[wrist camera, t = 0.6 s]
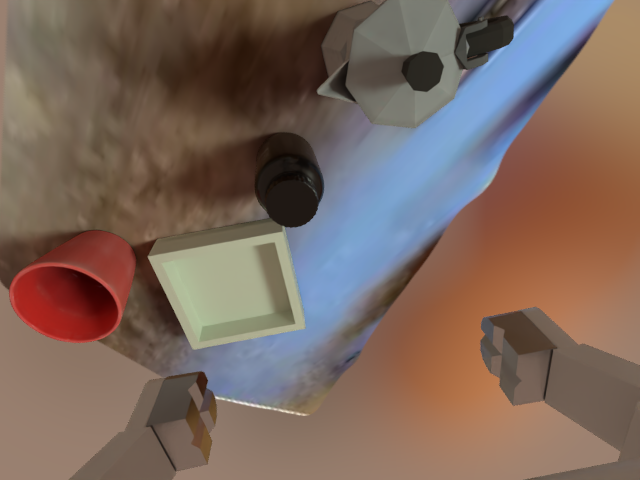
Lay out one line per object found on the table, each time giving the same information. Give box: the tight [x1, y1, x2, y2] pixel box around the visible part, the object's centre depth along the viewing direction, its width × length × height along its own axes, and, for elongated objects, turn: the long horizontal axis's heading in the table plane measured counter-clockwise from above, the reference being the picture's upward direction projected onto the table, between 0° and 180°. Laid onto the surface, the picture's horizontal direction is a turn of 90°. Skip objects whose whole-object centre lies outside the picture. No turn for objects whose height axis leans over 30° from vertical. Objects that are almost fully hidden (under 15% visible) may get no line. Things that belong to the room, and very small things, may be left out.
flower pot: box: [9, 230, 136, 343], centre depth 42 cm, size 11×11×10 cm
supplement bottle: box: [255, 133, 324, 228], centre depth 37 cm, size 7×7×12 cm
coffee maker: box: [317, 0, 514, 128], centre depth 29 cm, size 15×9×18 cm, turn 105°
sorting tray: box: [148, 218, 305, 350], centre depth 48 cm, size 16×16×4 cm
